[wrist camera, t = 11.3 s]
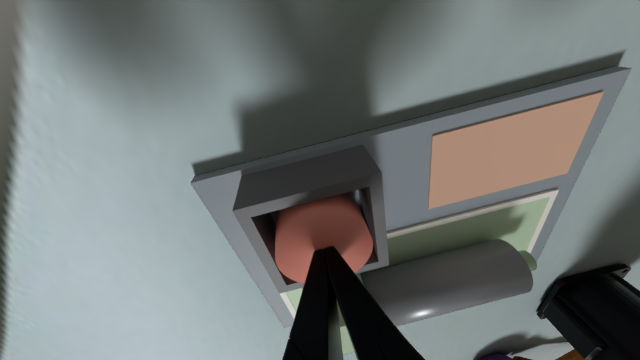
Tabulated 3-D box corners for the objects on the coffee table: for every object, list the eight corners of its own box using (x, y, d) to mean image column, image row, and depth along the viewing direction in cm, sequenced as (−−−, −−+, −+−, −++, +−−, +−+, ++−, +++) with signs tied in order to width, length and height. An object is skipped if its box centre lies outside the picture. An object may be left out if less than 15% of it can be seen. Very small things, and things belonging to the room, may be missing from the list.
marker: (513, 222, 15) (567, 268, 12) (501, 256, 17) (546, 302, 14) (301, 277, 15) (306, 336, 12) (313, 304, 17) (320, 360, 14)
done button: (350, 168, 11) (367, 205, 8) (360, 229, 13) (376, 271, 11) (264, 191, 11) (260, 233, 8) (289, 248, 13) (291, 293, 11)
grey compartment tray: (615, 66, 11) (715, 78, 8) (529, 256, 19) (567, 291, 16) (194, 175, 11) (168, 220, 8) (284, 319, 19) (284, 365, 16)
